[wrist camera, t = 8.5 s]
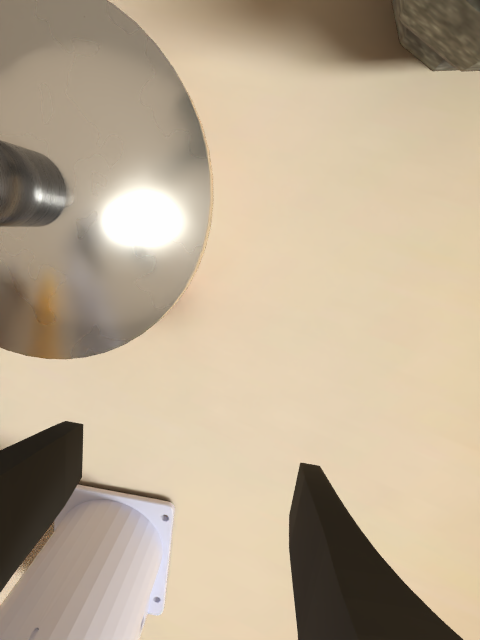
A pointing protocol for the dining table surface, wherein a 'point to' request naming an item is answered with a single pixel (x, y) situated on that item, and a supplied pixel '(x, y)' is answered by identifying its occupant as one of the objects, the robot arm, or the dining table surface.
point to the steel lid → (93, 180)
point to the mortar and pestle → (440, 32)
